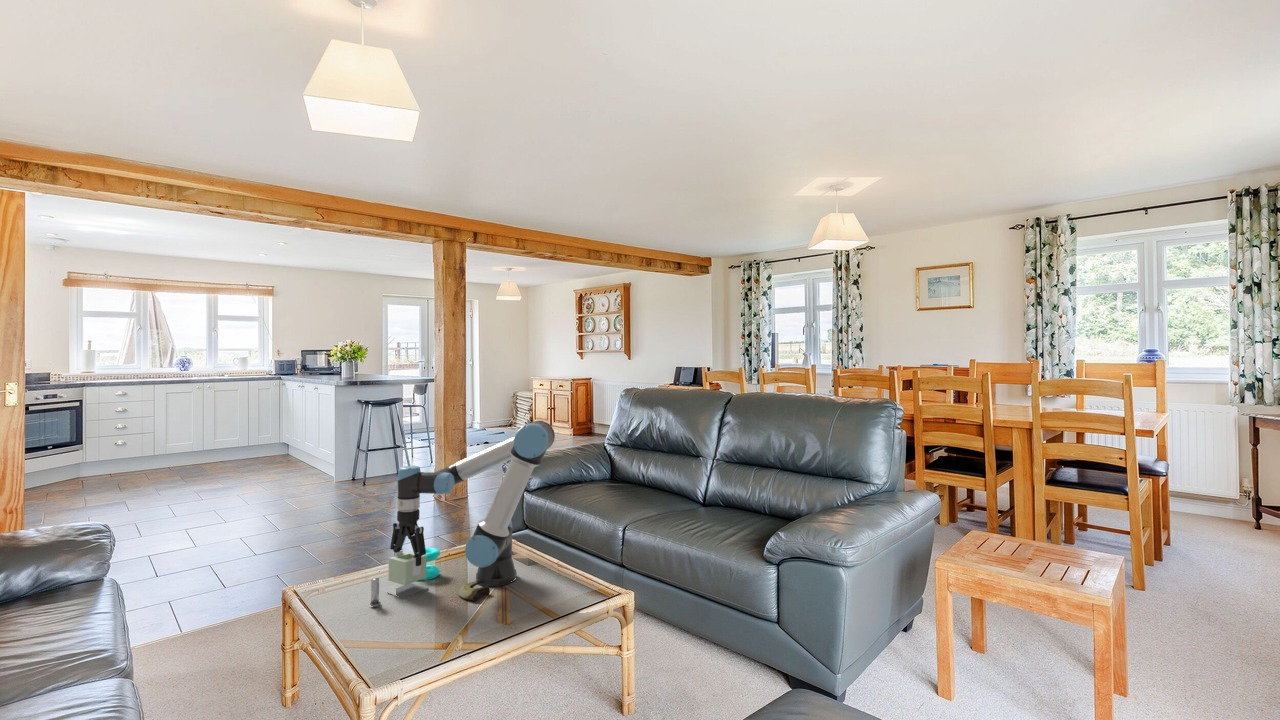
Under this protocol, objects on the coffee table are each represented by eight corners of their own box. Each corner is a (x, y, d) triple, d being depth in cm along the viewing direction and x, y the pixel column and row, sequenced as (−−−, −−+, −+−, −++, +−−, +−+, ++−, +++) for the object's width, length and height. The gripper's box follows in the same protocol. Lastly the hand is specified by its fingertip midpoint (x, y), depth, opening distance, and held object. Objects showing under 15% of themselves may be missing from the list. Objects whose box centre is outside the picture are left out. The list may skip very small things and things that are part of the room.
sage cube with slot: (426, 577, 212) (426, 555, 212) (405, 585, 204) (405, 562, 204) (409, 573, 217) (409, 551, 217) (388, 580, 209) (388, 558, 209)
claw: (492, 600, 203) (492, 590, 203) (462, 605, 199) (462, 595, 199) (482, 583, 221) (482, 574, 221) (454, 587, 216) (454, 578, 216)
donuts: (443, 551, 225) (415, 556, 219) (442, 577, 224) (415, 583, 219) (436, 545, 233) (410, 549, 228) (436, 570, 233) (410, 575, 227)
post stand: (382, 604, 198) (383, 578, 199) (373, 608, 195) (373, 581, 195) (376, 602, 200) (376, 576, 200) (366, 606, 197) (366, 579, 197)
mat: (428, 589, 212) (428, 588, 212) (405, 599, 203) (405, 597, 203) (410, 584, 217) (410, 583, 217) (386, 593, 208) (386, 591, 208)
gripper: (380, 507, 213) (379, 569, 213) (420, 515, 202) (419, 581, 202) (397, 503, 220) (396, 564, 219) (437, 511, 209) (436, 574, 208)
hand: (407, 572), depth 210 cm, fingers closed on sage cube with slot, 9 cm apart
